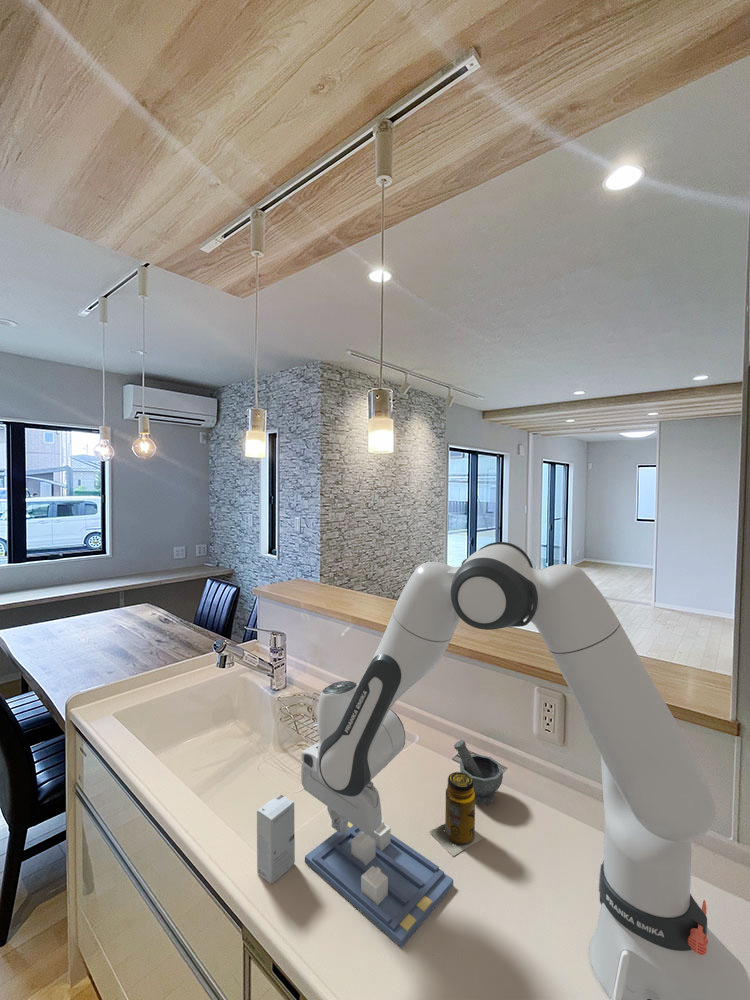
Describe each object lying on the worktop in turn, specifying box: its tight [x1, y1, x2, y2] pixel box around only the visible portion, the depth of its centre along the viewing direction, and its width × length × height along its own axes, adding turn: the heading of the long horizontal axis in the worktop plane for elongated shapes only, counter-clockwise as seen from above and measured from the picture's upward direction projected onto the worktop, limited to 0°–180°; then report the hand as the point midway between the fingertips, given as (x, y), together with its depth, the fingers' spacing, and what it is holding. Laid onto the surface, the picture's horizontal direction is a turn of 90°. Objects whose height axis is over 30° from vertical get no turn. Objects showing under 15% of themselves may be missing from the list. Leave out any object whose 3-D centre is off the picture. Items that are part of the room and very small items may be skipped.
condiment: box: [429, 771, 485, 857], centre depth 95 cm, size 7×8×12 cm
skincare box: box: [256, 794, 296, 885], centre depth 87 cm, size 6×4×12 cm
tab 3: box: [361, 866, 388, 906], centre depth 80 cm, size 4×3×4 cm
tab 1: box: [369, 819, 392, 851], centre depth 91 cm, size 4×3×4 cm
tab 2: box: [351, 832, 376, 865], centre depth 88 cm, size 4×3×4 cm
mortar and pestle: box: [453, 739, 504, 806], centre depth 107 cm, size 11×9×12 cm
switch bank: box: [304, 822, 454, 948], centre depth 86 cm, size 24×15×2 cm, turn 48°
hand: (339, 829), depth 92 cm, fingers closed
